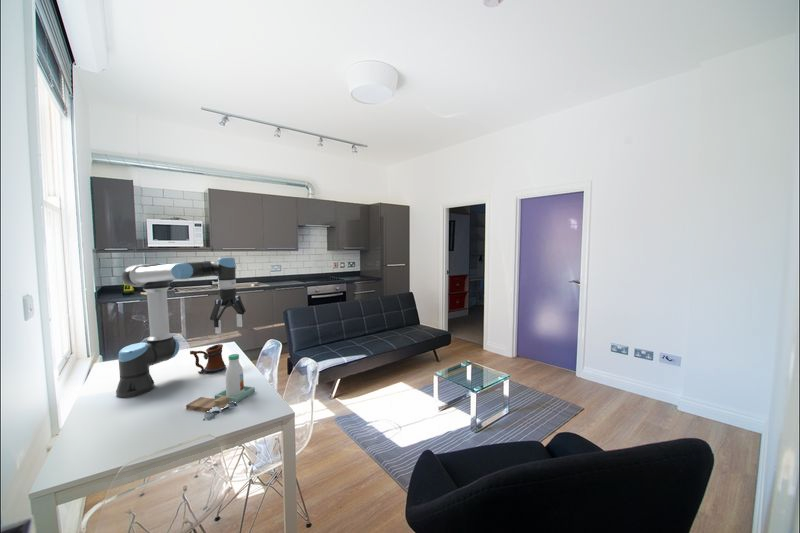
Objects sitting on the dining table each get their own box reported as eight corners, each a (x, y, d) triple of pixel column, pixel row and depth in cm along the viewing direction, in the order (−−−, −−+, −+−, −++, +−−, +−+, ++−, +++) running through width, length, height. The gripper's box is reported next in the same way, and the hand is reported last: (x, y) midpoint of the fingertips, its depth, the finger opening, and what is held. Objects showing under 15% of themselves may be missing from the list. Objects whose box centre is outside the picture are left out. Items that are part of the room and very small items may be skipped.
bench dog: (214, 411, 142) (214, 400, 142) (223, 406, 147) (223, 395, 146) (220, 412, 141) (219, 401, 141) (229, 406, 146) (228, 396, 146)
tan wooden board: (186, 410, 144) (186, 405, 144) (201, 402, 152) (200, 397, 151) (211, 414, 141) (211, 408, 140) (225, 405, 148) (225, 400, 148)
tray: (214, 400, 152) (214, 395, 152) (234, 389, 164) (234, 384, 164) (235, 403, 149) (235, 398, 149) (254, 392, 161) (254, 387, 161)
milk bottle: (236, 399, 152) (235, 358, 151) (222, 397, 153) (221, 357, 152) (247, 392, 159) (246, 353, 158) (234, 390, 161) (232, 352, 160)
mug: (192, 378, 177) (190, 352, 176) (189, 372, 186) (188, 347, 185) (228, 370, 189) (227, 346, 188) (224, 365, 197) (223, 341, 197)
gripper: (212, 291, 146) (214, 337, 147) (252, 285, 170) (253, 324, 171) (199, 291, 148) (201, 336, 149) (240, 285, 172) (241, 323, 173)
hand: (229, 330), depth 160 cm, fingers open, 13 cm apart
